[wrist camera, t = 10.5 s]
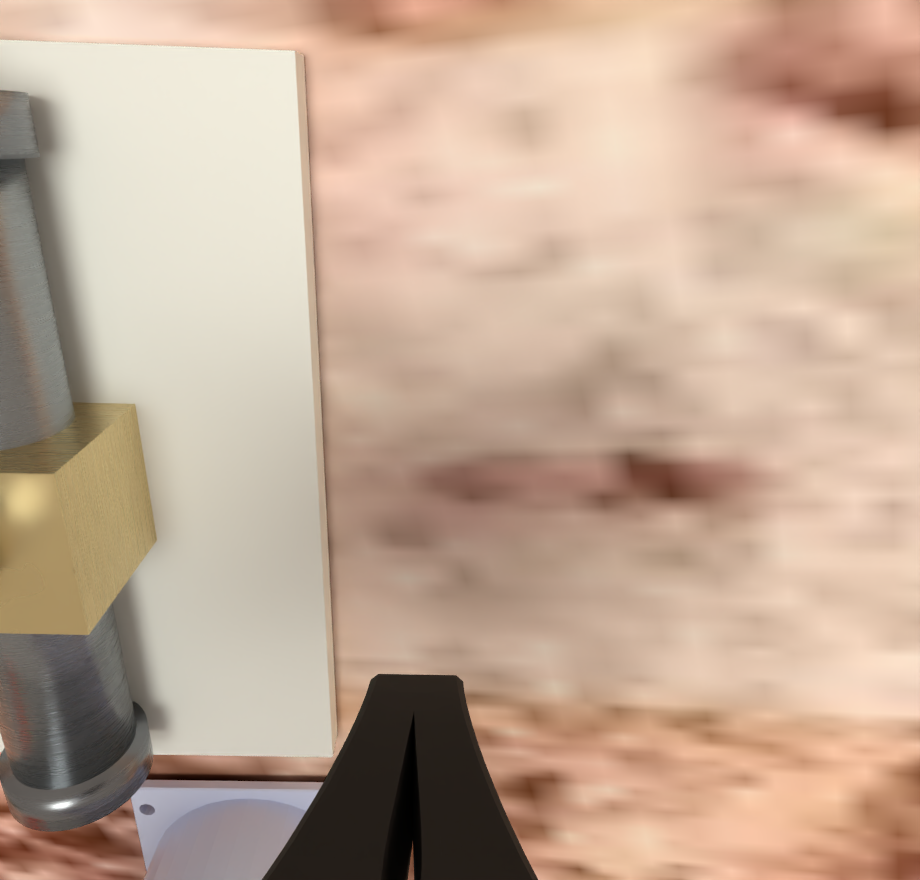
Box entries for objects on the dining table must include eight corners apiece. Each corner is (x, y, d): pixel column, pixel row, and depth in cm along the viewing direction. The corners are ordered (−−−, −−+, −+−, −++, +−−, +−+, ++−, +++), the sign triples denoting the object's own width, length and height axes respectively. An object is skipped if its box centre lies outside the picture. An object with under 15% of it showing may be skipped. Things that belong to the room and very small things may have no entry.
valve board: (337, 732, 24) (332, 757, 23) (-89, 726, 23) (-111, 750, 22) (303, 55, 16) (294, 50, 15) (-343, 31, 15) (-393, 25, 14)
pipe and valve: (191, 724, 23) (135, 850, 19) (32, 721, 22) (-58, 847, 18) (92, 97, 15) (-33, 84, 11) (-143, 88, 15) (-350, 73, 11)
